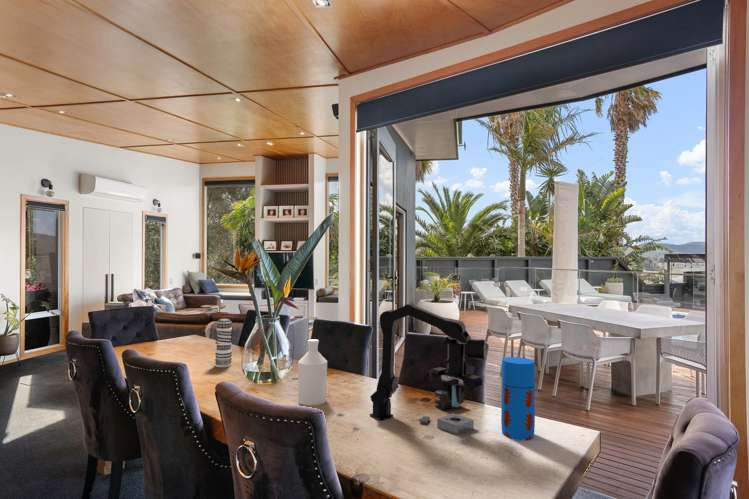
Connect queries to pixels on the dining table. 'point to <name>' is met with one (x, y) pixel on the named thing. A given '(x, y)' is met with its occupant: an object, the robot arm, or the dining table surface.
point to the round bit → (454, 397)
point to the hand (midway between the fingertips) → (455, 401)
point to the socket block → (455, 423)
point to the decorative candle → (223, 343)
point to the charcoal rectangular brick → (424, 420)
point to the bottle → (312, 376)
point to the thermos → (518, 398)
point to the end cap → (444, 400)
